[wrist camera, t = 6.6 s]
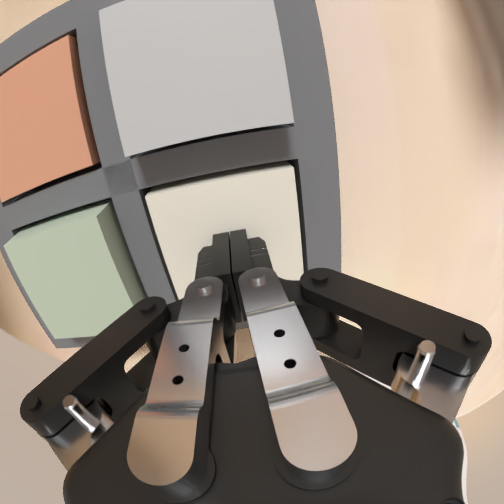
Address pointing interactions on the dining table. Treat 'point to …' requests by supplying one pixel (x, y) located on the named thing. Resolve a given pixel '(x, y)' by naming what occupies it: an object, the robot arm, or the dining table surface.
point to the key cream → (228, 217)
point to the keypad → (185, 149)
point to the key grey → (193, 69)
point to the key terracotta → (44, 119)
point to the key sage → (77, 270)
